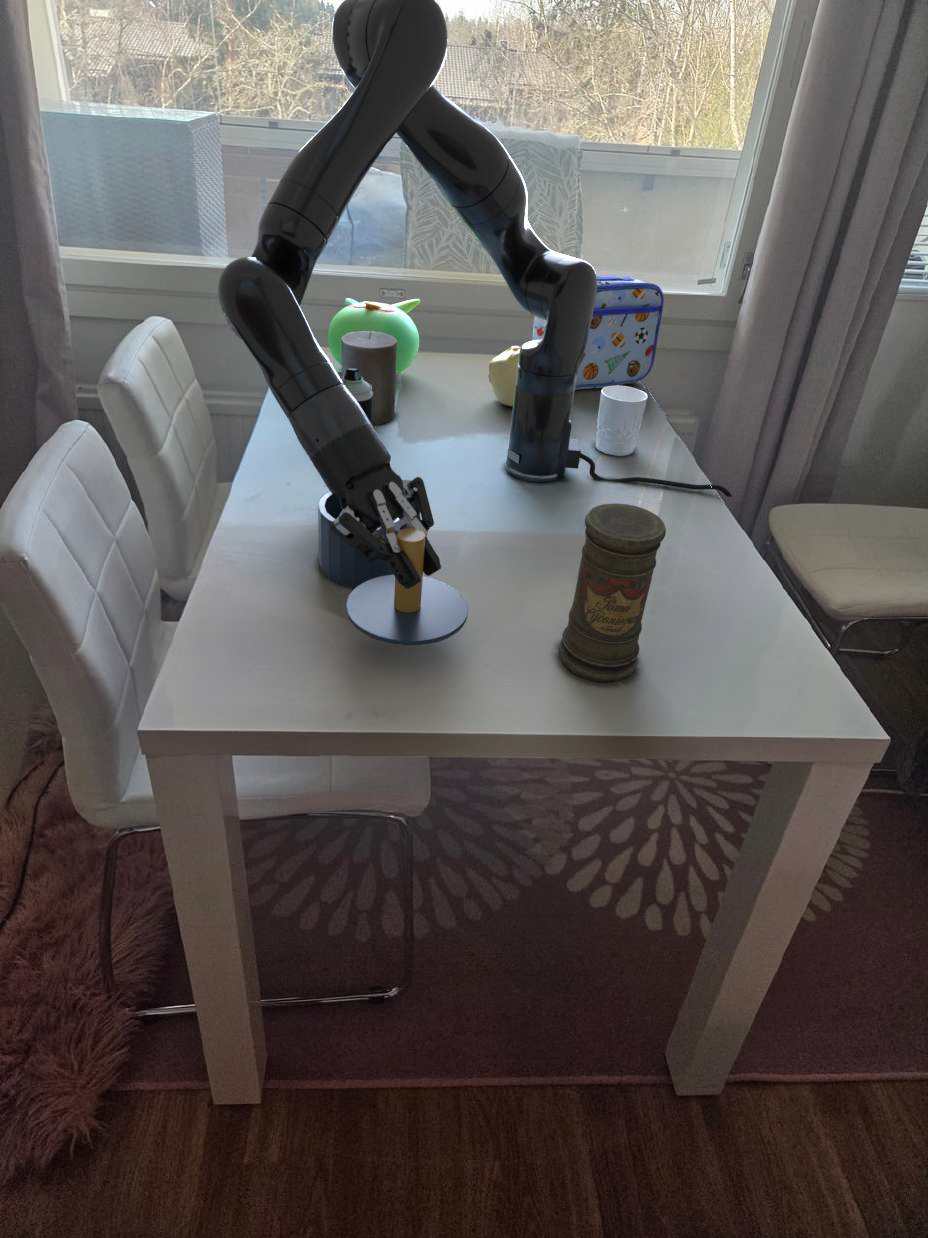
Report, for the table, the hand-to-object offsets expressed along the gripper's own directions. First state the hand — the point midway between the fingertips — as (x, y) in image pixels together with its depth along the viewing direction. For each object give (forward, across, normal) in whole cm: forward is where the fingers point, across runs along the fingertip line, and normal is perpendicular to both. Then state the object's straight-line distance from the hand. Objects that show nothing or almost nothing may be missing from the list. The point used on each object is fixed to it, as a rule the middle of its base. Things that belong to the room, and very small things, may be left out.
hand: (424, 577), depth 93 cm
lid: (+2, 0, +5) cm, 5 cm away
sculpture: (-18, +76, +31) cm, 84 cm away
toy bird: (-39, +69, +52) cm, 95 cm away
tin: (-5, +11, +18) cm, 22 cm away
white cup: (-1, +70, +14) cm, 71 cm away
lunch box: (-15, +97, +28) cm, 102 cm away
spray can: (-14, +22, +28) cm, 38 cm away
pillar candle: (-29, +50, +42) cm, 72 cm away
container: (+19, +12, -5) cm, 23 cm away
